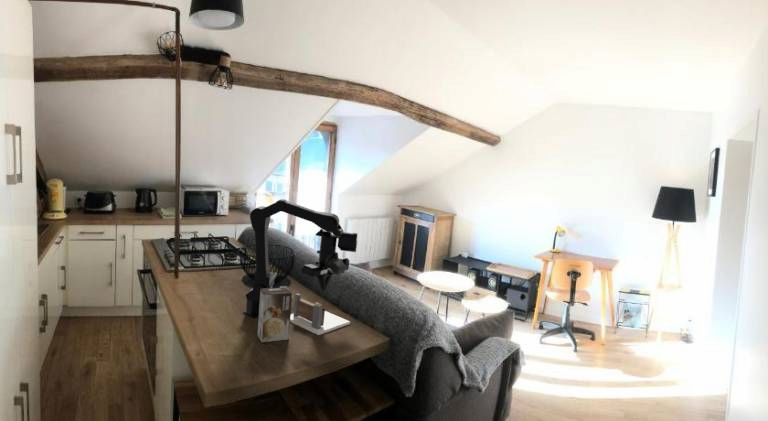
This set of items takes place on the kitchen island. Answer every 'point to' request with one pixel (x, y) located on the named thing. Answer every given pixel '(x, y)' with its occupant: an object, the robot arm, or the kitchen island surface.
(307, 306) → the gate
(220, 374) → the kitchen island surface
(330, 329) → the gate frame
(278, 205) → the robot arm
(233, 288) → the kitchen island surface
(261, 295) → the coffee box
